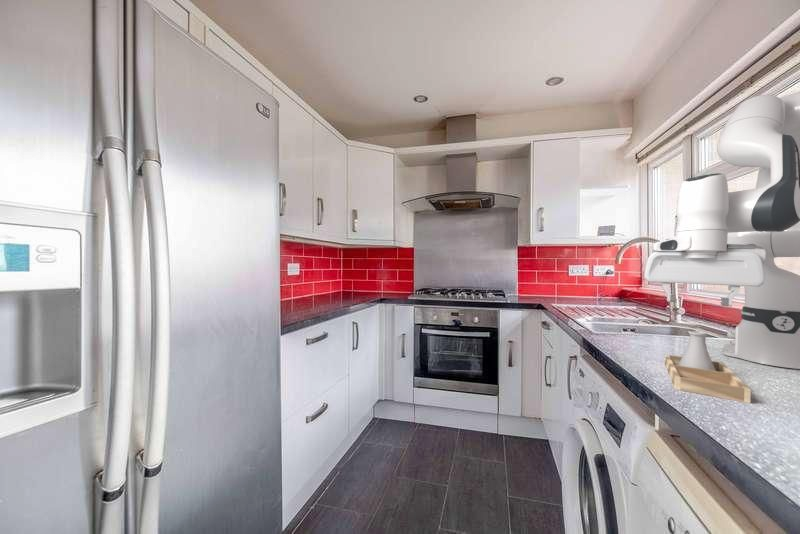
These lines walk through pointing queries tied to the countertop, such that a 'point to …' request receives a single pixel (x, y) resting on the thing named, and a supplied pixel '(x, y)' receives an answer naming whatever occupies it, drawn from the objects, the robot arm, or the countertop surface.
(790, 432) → the countertop surface
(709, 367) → the flask
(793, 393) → the countertop surface
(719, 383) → the oak caddy
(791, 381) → the countertop surface
